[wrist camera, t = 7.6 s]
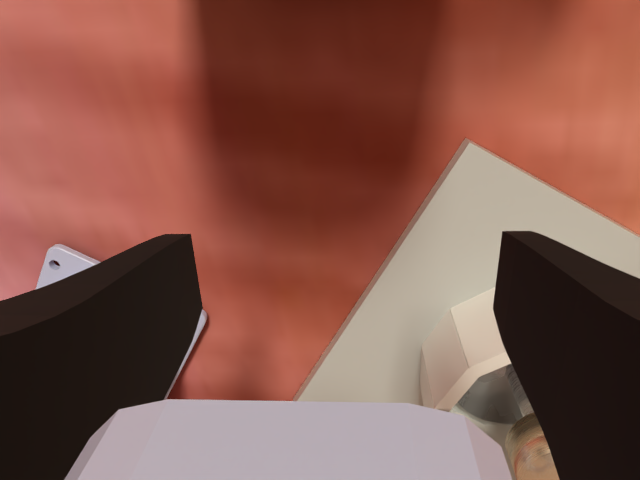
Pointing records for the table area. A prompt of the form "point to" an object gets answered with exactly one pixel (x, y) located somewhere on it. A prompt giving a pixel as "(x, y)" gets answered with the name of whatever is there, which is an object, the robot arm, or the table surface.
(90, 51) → the table surface
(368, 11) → the table surface
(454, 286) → the white square-based fixture
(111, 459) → the robot arm
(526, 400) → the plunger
